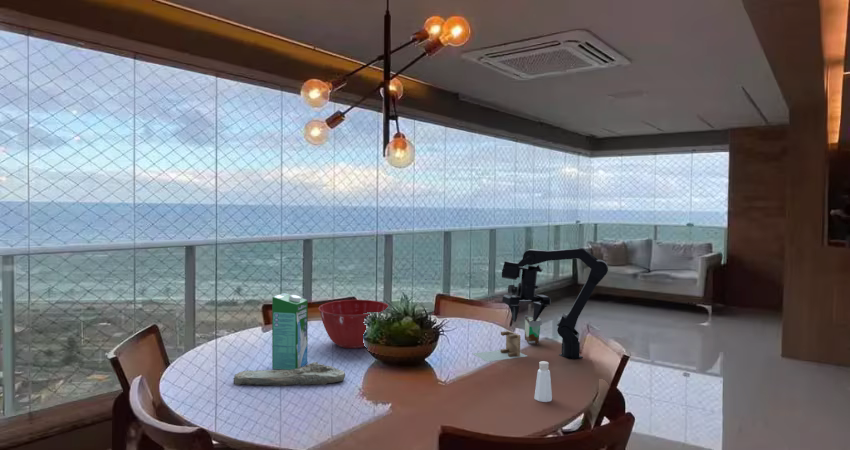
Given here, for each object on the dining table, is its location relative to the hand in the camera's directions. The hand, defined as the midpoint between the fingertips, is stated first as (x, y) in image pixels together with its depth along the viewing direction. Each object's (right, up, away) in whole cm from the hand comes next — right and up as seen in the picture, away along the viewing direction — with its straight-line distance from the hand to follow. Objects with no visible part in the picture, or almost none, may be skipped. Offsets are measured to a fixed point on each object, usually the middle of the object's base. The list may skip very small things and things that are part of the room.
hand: (524, 321), depth 207 cm
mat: (-10, -12, -4) cm, 16 cm away
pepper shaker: (-3, -14, -48) cm, 50 cm away
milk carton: (-86, -12, -20) cm, 89 cm away
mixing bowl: (-67, -11, +10) cm, 69 cm away
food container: (+7, -12, +16) cm, 21 cm away
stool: (-6, -12, -3) cm, 14 cm away
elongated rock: (-82, -13, -35) cm, 90 cm away
